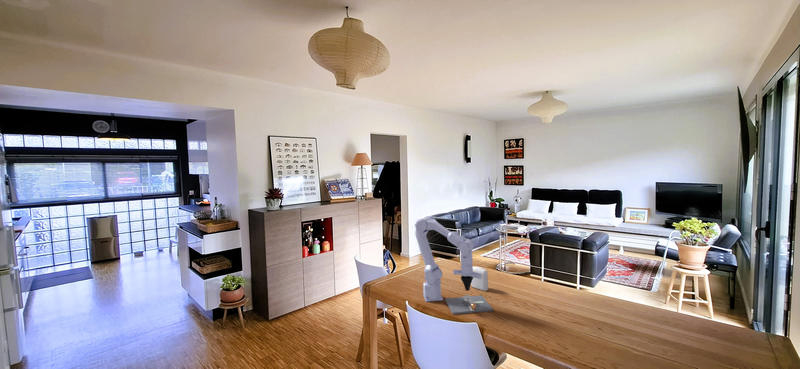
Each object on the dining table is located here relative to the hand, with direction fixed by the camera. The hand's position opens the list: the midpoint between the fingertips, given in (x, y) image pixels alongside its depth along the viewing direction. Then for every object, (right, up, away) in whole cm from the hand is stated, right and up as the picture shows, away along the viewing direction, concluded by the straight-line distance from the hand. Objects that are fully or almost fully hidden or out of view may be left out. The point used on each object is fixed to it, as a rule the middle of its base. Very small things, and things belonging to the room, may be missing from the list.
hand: (467, 290), depth 160 cm
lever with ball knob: (+1, -6, -3) cm, 7 cm away
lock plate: (0, -8, 0) cm, 8 cm away
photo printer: (+12, -6, +21) cm, 25 cm away
